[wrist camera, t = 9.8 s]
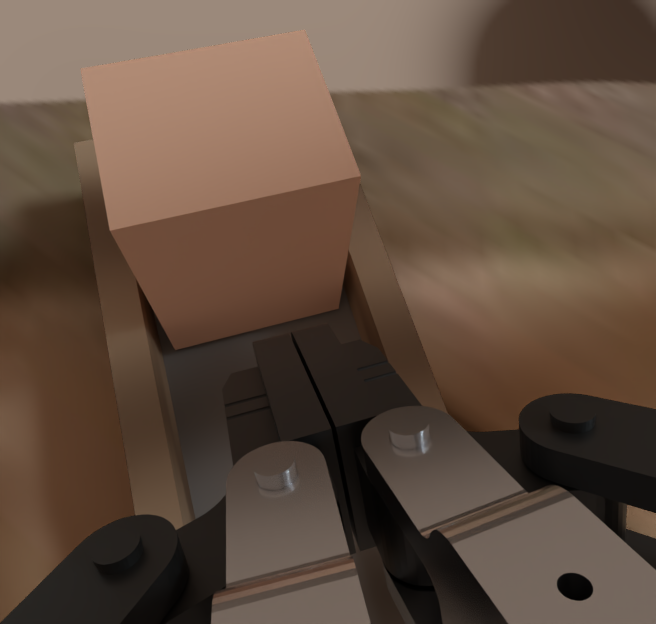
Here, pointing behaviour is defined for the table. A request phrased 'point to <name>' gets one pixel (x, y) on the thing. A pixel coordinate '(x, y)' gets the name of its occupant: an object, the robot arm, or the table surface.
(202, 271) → the block
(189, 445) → the chute
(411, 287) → the table surface
